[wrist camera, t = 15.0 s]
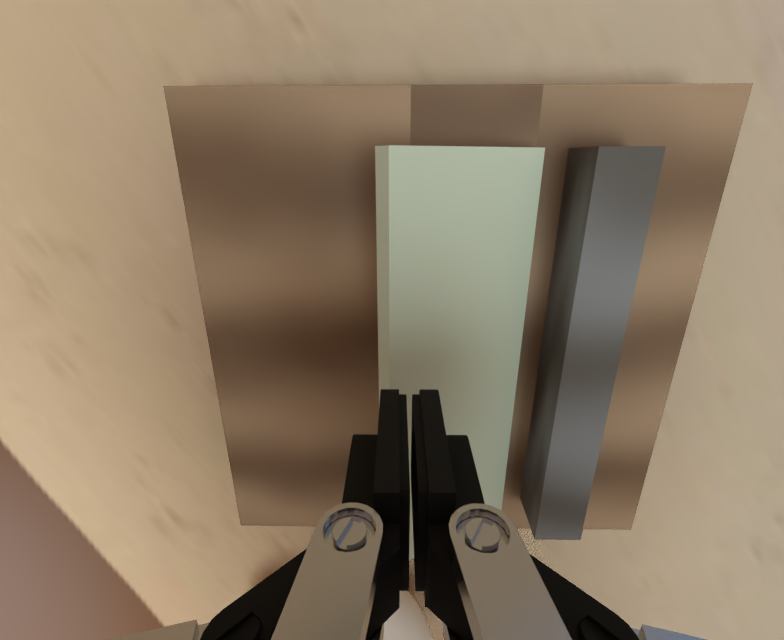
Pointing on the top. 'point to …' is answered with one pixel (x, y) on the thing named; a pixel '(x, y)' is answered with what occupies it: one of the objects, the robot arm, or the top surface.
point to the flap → (456, 287)
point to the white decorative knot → (407, 621)
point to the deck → (359, 275)
